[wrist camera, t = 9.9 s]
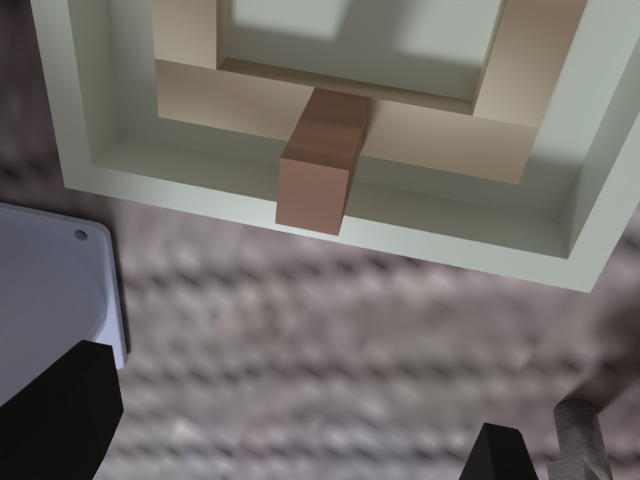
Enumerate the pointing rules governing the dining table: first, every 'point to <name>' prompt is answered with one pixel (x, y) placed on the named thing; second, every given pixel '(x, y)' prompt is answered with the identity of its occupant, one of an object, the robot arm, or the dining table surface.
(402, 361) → the dining table surface
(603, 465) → the T-head stake
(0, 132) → the dining table surface
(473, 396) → the dining table surface
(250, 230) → the dining table surface
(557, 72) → the birch frame
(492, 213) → the sage tray
